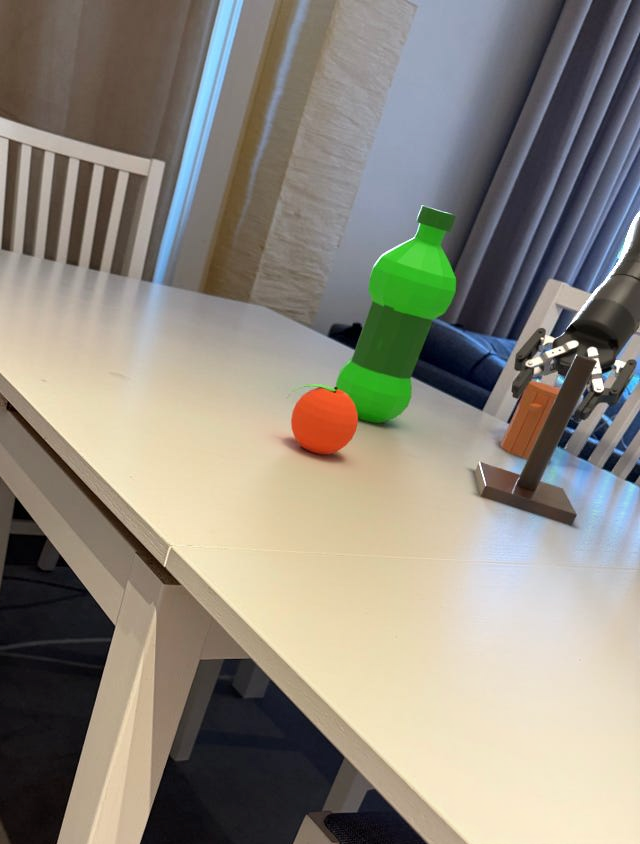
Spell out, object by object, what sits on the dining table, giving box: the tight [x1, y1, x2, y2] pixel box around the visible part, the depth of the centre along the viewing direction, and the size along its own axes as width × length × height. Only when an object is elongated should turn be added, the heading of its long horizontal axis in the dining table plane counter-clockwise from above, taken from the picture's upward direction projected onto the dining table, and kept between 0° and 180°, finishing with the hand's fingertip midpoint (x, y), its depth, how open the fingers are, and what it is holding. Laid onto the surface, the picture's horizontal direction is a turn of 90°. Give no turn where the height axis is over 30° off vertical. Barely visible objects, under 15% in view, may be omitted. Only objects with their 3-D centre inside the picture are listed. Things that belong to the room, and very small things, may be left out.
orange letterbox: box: [499, 380, 560, 460], centre depth 121 cm, size 9×6×9 cm
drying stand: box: [474, 355, 597, 526], centre depth 100 cm, size 10×10×16 cm
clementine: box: [286, 383, 359, 455], centre depth 97 cm, size 8×7×7 cm
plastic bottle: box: [335, 205, 457, 424], centre depth 113 cm, size 10×10×25 cm
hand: (545, 405), depth 121 cm, fingers open, 8 cm apart
